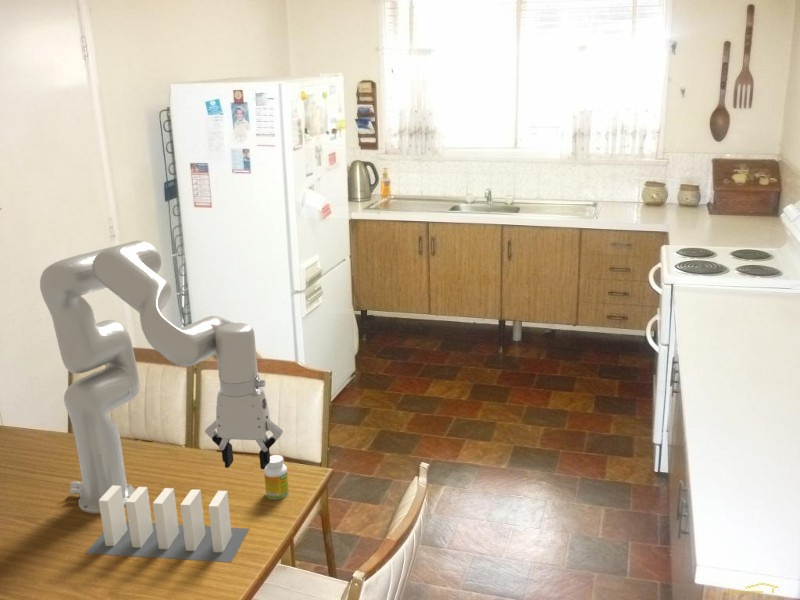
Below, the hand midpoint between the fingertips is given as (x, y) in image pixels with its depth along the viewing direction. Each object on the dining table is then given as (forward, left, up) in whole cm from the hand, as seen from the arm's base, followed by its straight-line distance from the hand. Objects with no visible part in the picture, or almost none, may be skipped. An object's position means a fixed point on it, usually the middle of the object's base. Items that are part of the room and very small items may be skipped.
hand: (246, 464), depth 156 cm
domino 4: (-13, 0, -19) cm, 23 cm away
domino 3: (-19, 0, -19) cm, 27 cm away
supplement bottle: (-1, +21, -20) cm, 29 cm away
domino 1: (-31, 0, -19) cm, 36 cm away
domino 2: (-25, 0, -19) cm, 32 cm away
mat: (-19, 0, -20) cm, 27 cm away
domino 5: (-7, 0, -19) cm, 20 cm away
